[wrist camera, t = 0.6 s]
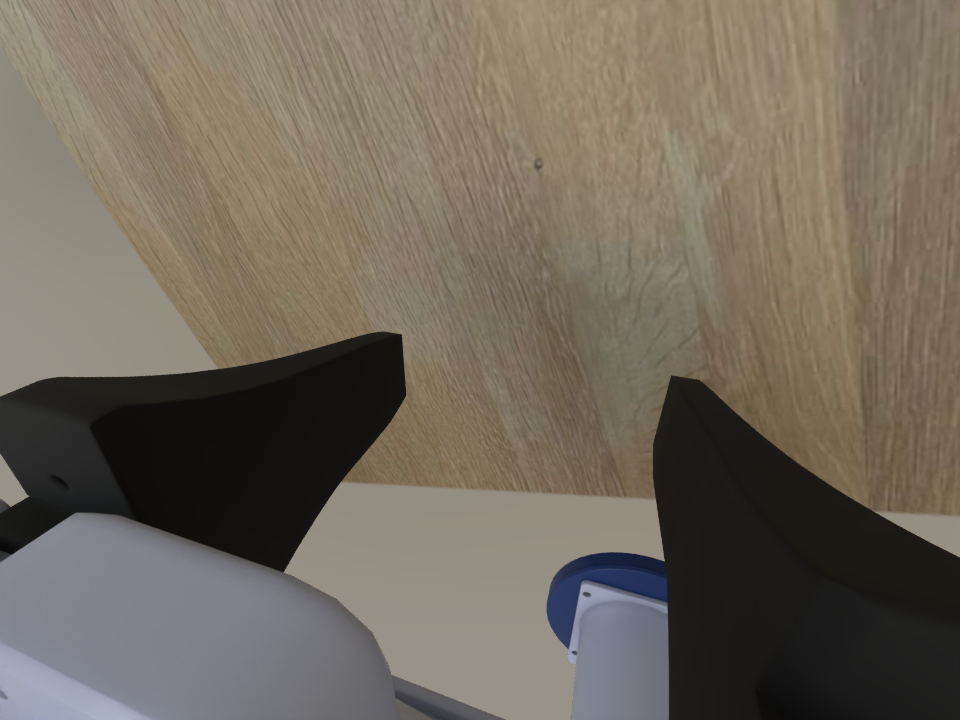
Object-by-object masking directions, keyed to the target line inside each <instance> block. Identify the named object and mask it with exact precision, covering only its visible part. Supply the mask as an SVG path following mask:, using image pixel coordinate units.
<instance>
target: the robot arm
mask: <svg viewBox="0 0 960 720" xmlns="http://www.w3.org/2000/svg"><path fill="white" fill-rule="evenodd" d="M405 397H406V385H405V372H404V359H403V345H402V334H396V333H389V332H375V333H370V334H366V335H362V336H358V337H354V338H351V339H347V340H344V341H340V342H337V343H333V344H330V345H327V346H323V347H320V348H316V349H312V350H309V351H305V352H301V353H297V354H293V355H290V356H286V357H282V358H278V359H273V360H269V361H264V362H259V363H254V364H249V365H243V366H238V367H231V368H224V369H216V370H208V371H200V372H192V373H182V374H169V375H155V376H137V377H136V376H135V377H56V378H50V379H44V380H41V381H37V382H35V383H32V384H30V385H28V386H25V387H23V388H20V389H18V390H15V391H13V392H10V393H8V394H6V395H3V396H1V397H0V454H1V455H2V457H3V458H4V460H5V461H6V463H7V464H8V466H9V467H10V469H11V471H12V472H13V474H14V475H15V477H16V478H17V480H18V481H19V483H20V484H21V486H22V487H23V489H24V490H25V492H26V493H27V495H29V497H28V498H26V499H24V500H23V501H21V502H19V503H17V504H16V505H14V506H12V507H10V506H9V505H8V504H7V503H5V502H4V501H3V500H2V499H0V720H505V719H502V718H500V717H497V716H494V715H492V714H489V713H487V712H484V711H482V710H479V709H477V708H474V707H472V706H469V705H467V704H464V703H462V702H459V701H456V700H454V699H451V698H449V697H446V696H444V695H441V694H439V693H436V692H434V691H431V690H428V689H426V688H424V687H421V686H418V685H416V684H413V683H411V682H408V681H406V680H403V679H401V678H398V677H396V676H393V675H391V672H390V669H389V665H388V663H387V661H386V659H385V657H384V655H383V653H382V651H381V649H380V647H379V645H378V643H377V641H376V639H375V637H374V635H373V633H372V632H371V631H370V630H369V629H368V628H367V627H366V626H365V625H364V624H363V623H362V622H361V621H360V620H358V619H357V618H356V617H355V616H354V615H353V614H352V613H351V612H350V611H349V610H348V609H346V608H345V607H344V606H343V605H342V604H341V603H340V602H339V601H338V600H337V599H336V598H334V597H332V596H330V595H328V594H326V593H324V592H322V591H320V590H318V589H316V588H315V587H312V586H311V585H309V584H307V583H305V582H303V581H301V580H299V579H297V578H296V577H294V576H292V575H289V574H286V573H283V572H284V571H285V569H286V567H287V565H288V564H289V562H290V560H291V558H292V557H293V555H294V553H295V551H296V550H297V548H298V547H299V545H300V543H301V541H302V540H303V538H304V537H305V535H306V534H307V532H308V530H309V529H310V527H311V526H312V524H313V522H314V521H315V519H316V517H317V516H318V514H319V513H320V511H321V510H322V508H323V507H324V505H325V504H326V502H327V501H328V499H329V498H330V496H331V495H332V493H333V492H334V490H335V489H336V488H337V486H338V485H339V484H340V482H341V481H342V480H343V479H344V477H345V476H346V475H347V474H348V472H349V471H350V470H351V469H352V468H353V466H354V465H355V464H356V463H357V462H358V460H359V459H360V458H361V457H362V456H363V455H364V453H365V452H366V451H367V450H368V449H369V447H370V446H371V445H372V444H373V443H374V441H375V440H376V439H377V438H378V437H379V435H380V434H381V433H382V432H383V430H384V429H385V428H386V427H387V425H388V424H389V423H390V422H391V420H392V419H393V417H394V415H395V414H396V412H397V411H398V409H399V407H400V405H401V404H402V402H403V400H404V398H405ZM653 481H654V488H655V496H656V503H657V510H658V517H659V524H660V531H661V538H662V545H663V551H664V559H665V568H666V579H667V602H665V601H661V600H658V599H654V598H651V597H647V596H644V595H640V594H637V593H633V592H629V591H626V590H622V589H619V588H615V587H612V586H608V585H604V584H601V583H597V582H594V581H590V580H584V581H582V582H581V586H580V592H579V597H578V602H577V608H576V613H575V619H574V624H573V629H572V635H571V640H570V645H569V652H568V657H567V658H568V660H569V662H570V663H572V664H575V665H576V671H575V682H574V692H573V701H572V712H571V720H960V557H957V556H956V555H953V554H952V553H950V552H948V551H946V550H944V549H942V548H940V547H938V546H936V545H934V544H932V543H930V542H928V541H926V540H924V539H922V538H920V537H919V536H917V535H915V534H913V533H911V532H909V531H907V530H905V529H903V528H902V527H900V526H898V525H896V524H894V523H892V522H891V521H889V520H887V519H886V518H884V517H882V516H880V515H879V514H877V513H875V512H873V511H872V510H870V509H868V508H867V507H865V506H863V505H861V504H860V503H858V502H856V501H854V500H853V499H851V498H850V497H848V496H846V495H845V494H843V493H841V492H840V491H838V490H837V489H835V488H833V487H832V486H830V485H829V484H827V483H826V482H825V481H823V480H822V479H820V478H819V477H817V476H816V475H814V474H813V473H811V472H810V471H808V470H807V469H805V468H804V467H802V466H801V465H799V464H798V463H797V462H795V461H794V460H793V459H791V458H790V457H788V456H787V455H786V454H785V453H783V452H782V451H781V450H779V449H778V448H777V447H776V446H774V445H773V444H772V443H771V442H769V441H768V440H767V439H766V438H764V437H763V436H762V435H761V434H759V433H758V432H757V431H756V430H755V429H754V428H752V427H751V426H750V425H749V424H748V423H747V422H745V421H744V420H743V419H742V418H741V417H740V416H739V415H738V414H737V413H735V412H734V411H733V410H732V409H731V408H730V407H729V406H728V405H727V404H726V403H725V402H724V401H722V400H721V399H720V398H719V397H718V396H717V395H716V394H715V393H714V392H713V391H712V390H711V389H709V388H708V387H707V386H706V385H705V384H704V383H703V382H701V381H700V380H697V379H690V378H684V377H677V376H671V378H670V382H669V386H668V390H667V394H666V397H665V401H664V405H663V409H662V412H661V416H660V420H659V424H658V428H657V431H656V435H655V439H654V443H653Z"/></svg>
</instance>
